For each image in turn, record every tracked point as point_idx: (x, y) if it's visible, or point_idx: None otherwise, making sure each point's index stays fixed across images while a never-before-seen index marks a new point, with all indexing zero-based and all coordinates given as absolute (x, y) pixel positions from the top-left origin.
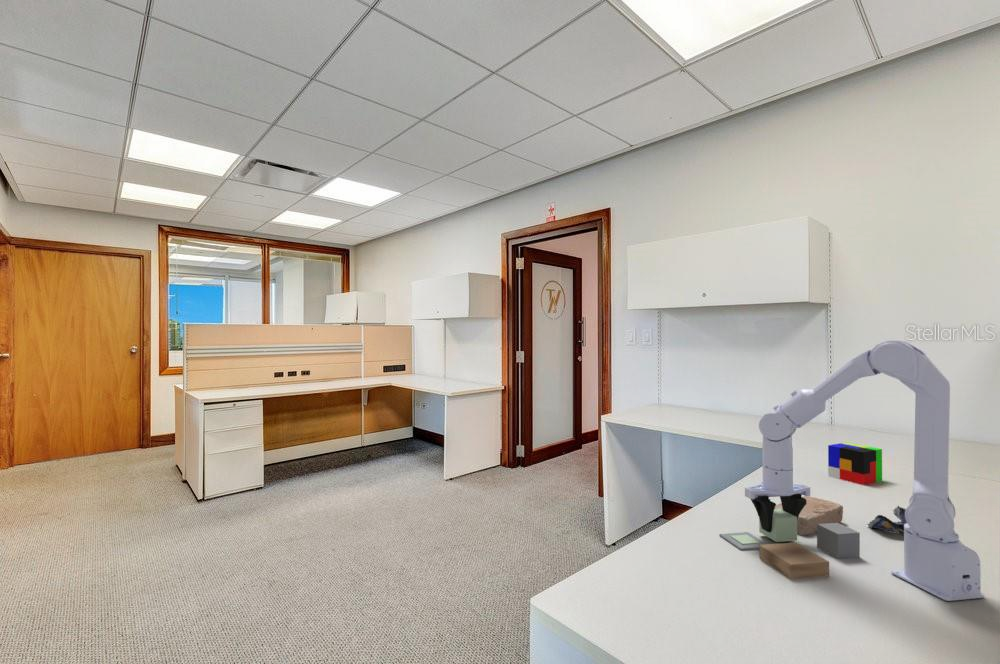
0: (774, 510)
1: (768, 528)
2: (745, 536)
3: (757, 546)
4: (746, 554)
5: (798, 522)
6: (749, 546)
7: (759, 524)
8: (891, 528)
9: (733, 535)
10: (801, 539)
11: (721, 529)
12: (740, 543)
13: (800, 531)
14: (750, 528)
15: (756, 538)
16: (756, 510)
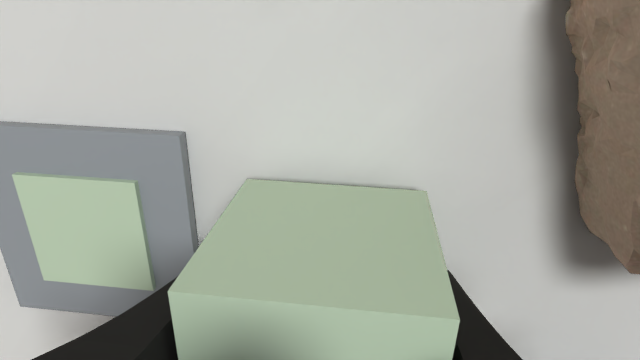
0: (336, 349)
1: None
2: (110, 205)
3: (121, 311)
4: (39, 332)
5: (636, 252)
6: (77, 300)
7: (228, 206)
8: None
9: (34, 178)
10: (503, 275)
11: (21, 12)
12: (43, 262)
13: (594, 230)
14: (273, 37)
15: (179, 230)
16: (92, 333)
